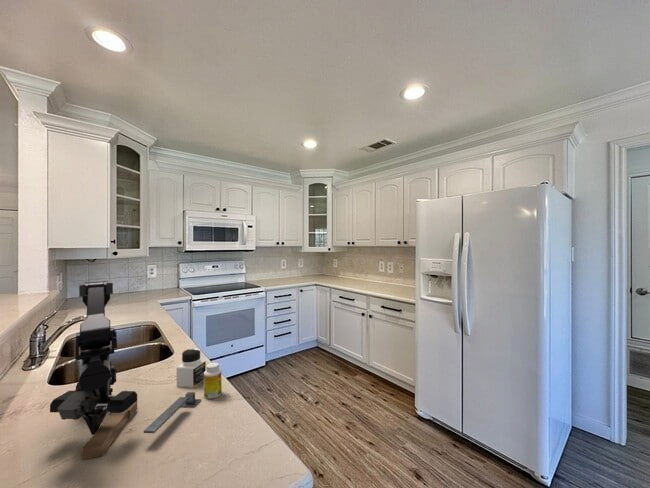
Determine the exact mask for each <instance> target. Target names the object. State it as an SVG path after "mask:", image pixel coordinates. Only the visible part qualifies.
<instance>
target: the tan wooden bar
mask: <svg viewBox="0 0 650 488" xmlns="http://www.w3.org/2000/svg"><path fill="white" fill-rule="evenodd" d="M137 410H138V400H137V401H136V402H135V403H134V404H133V405H131V406H130V407H129V408H128V409H127V410H125V411H124V412H121V413H110V412H108V414H109V415H108V417H107V418H106V419H105V420H104V422H102V423H101V425H100V427H99V429H98V430H97V431H96V432H95V434H94V435H92V436H91V437H90V438H89V440H87V441H86V443H85V444H84V445H83V446H82V448H81V451H82V453H81V458H82V460H86V459H92V458H97V457H102V456H103V455H104V454H105V452H106V451H107V449H108V448H109V446H111V444H112V443H113V441H114V440H115V438H116V437H117V436H118V434H119V433H120V431H121V430H122V429H123V427H124V426H125V425H126V423H127V422H128V420H131V419H132V418H133V416H134V415H135V414H136V412H137Z"/></svg>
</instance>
